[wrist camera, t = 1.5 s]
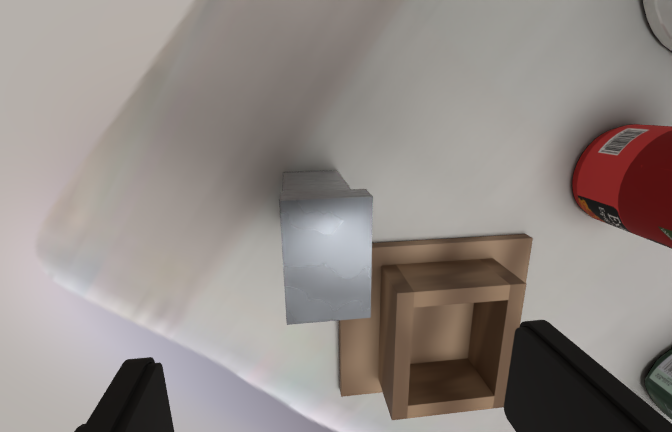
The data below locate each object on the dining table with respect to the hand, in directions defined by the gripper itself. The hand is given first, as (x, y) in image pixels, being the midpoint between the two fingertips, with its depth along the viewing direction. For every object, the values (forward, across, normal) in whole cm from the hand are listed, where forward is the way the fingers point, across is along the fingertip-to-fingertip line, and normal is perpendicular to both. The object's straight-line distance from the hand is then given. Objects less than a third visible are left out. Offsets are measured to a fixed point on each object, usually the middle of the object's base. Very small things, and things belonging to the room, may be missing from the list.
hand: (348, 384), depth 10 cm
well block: (+19, -10, +11) cm, 24 cm away
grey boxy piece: (+19, 0, 0) cm, 19 cm away
